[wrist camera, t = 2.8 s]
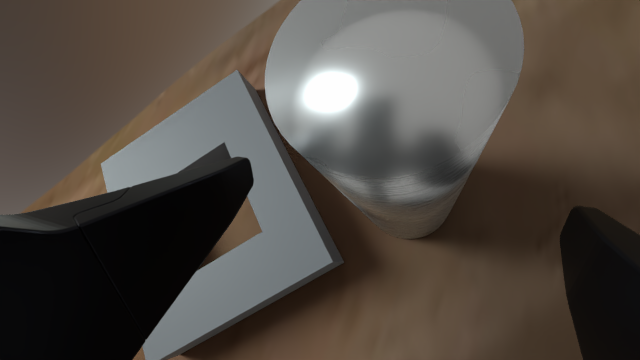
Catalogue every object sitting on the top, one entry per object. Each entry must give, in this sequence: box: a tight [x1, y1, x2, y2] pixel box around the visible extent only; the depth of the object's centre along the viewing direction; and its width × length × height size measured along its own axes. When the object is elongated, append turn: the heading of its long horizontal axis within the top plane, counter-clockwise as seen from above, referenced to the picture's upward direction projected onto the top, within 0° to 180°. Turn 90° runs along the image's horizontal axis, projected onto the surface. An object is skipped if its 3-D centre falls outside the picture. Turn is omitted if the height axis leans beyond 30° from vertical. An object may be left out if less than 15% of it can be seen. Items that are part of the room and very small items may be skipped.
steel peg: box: [265, 0, 524, 239], centre depth 12 cm, size 5×5×13 cm
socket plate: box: [101, 70, 344, 360], centre depth 20 cm, size 14×12×2 cm
